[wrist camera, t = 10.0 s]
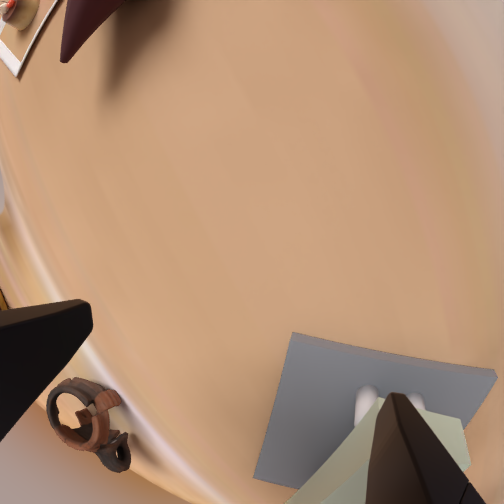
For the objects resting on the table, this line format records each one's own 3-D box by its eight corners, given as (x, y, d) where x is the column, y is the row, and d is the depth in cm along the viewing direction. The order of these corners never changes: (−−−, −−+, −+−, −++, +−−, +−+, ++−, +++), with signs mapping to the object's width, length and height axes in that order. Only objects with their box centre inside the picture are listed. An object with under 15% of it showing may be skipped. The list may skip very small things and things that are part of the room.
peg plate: (493, 369, 17) (510, 403, 14) (400, 495, 23) (399, 524, 19) (292, 331, 21) (280, 367, 17) (255, 470, 27) (243, 500, 23)
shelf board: (460, 419, 15) (471, 464, 11) (346, 518, 21) (340, 552, 17) (378, 396, 16) (379, 448, 12) (283, 503, 22) (272, 538, 18)
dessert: (83, -23, 18) (48, -37, 13) (23, 78, 22) (-13, 76, 18) (42, -38, 18) (14, -47, 13) (-5, 44, 22) (-34, 41, 18)
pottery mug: (70, 393, 34) (28, 402, 26) (113, 355, 34) (71, 359, 26) (124, 468, 31) (90, 493, 23) (174, 437, 31) (144, 463, 23)
